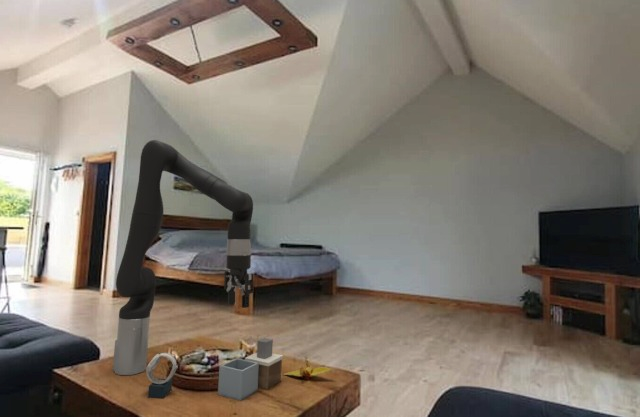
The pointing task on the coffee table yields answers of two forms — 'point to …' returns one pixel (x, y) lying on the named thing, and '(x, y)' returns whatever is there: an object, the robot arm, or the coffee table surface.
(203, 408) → the coffee table surface
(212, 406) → the coffee table surface
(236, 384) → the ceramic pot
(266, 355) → the lid
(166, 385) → the watch
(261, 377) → the walnut box
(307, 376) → the origami crane
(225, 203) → the robot arm
